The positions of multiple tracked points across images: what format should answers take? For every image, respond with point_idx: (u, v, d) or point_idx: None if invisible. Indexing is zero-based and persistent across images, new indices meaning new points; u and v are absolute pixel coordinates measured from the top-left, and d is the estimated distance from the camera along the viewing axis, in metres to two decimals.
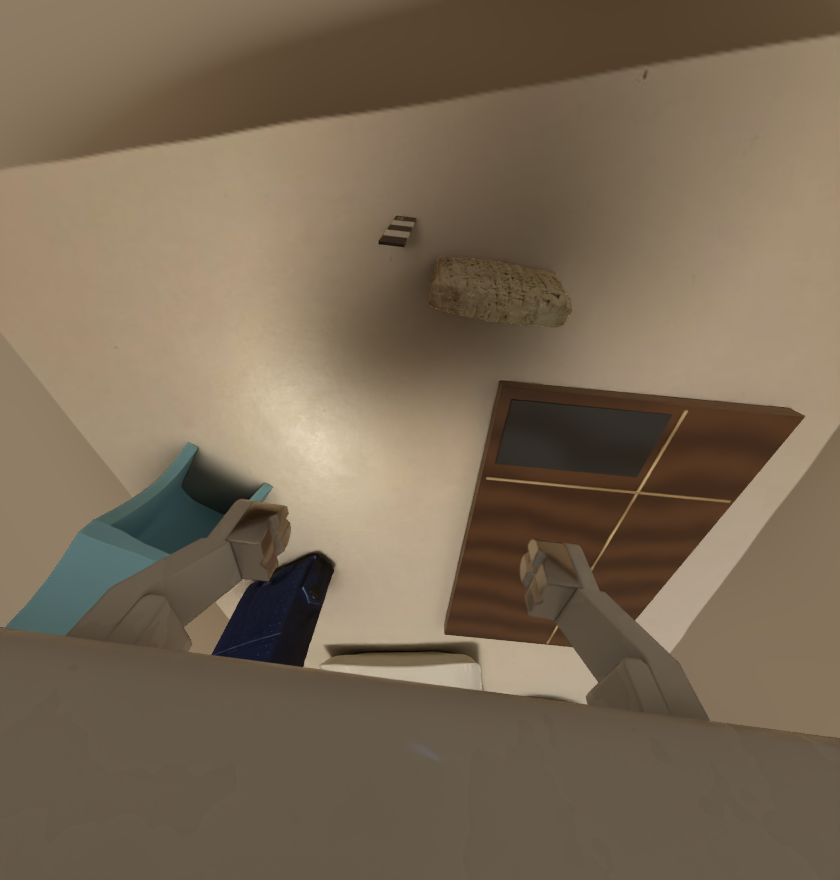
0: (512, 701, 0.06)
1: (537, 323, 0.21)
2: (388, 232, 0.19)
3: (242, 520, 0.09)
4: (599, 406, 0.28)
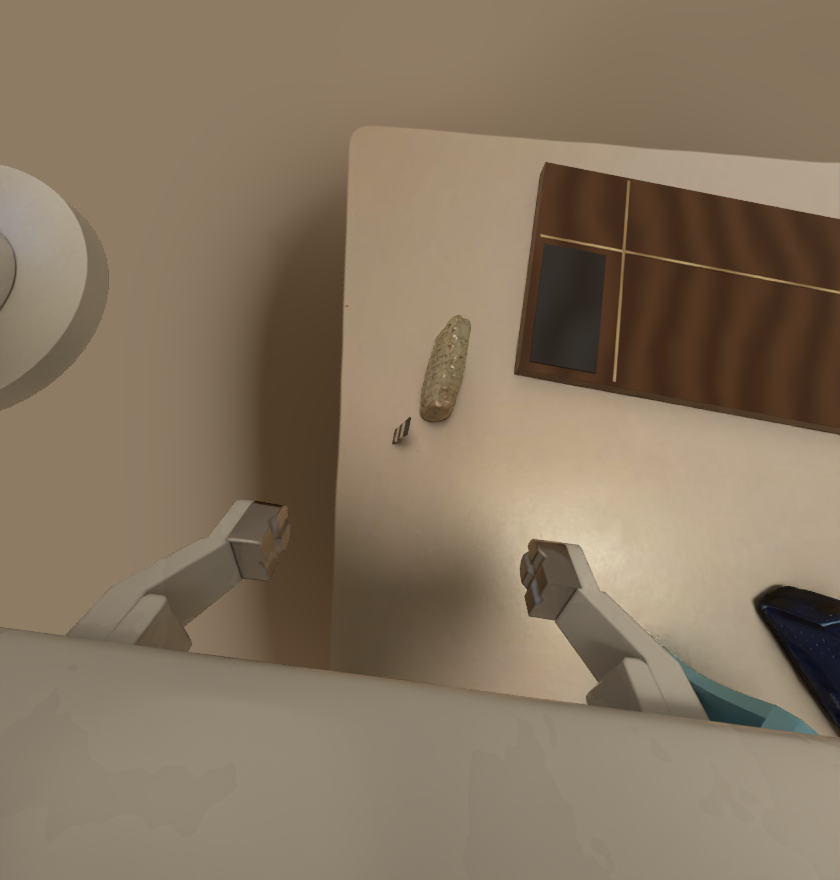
0: (512, 701, 0.06)
1: (467, 337, 0.29)
2: (401, 434, 0.28)
3: (242, 520, 0.09)
4: (537, 295, 0.35)
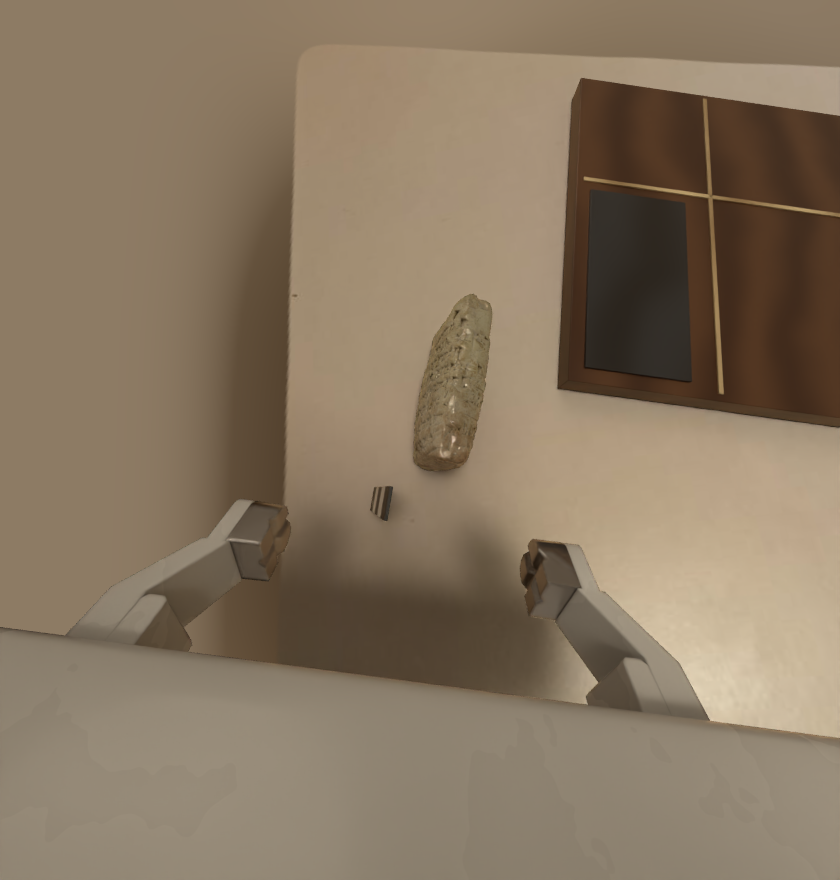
0: (512, 701, 0.06)
1: (487, 331, 0.17)
2: (379, 511, 0.15)
3: (242, 520, 0.09)
4: (586, 265, 0.22)
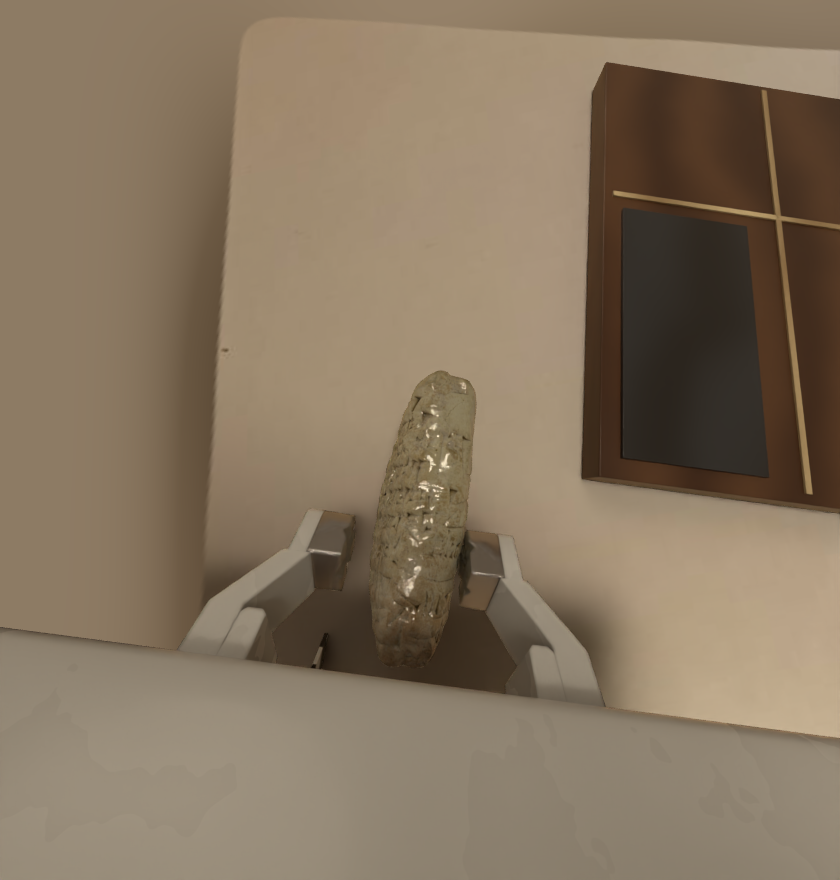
0: (512, 701, 0.06)
1: (466, 427, 0.11)
2: None
3: (318, 530, 0.09)
4: (619, 311, 0.17)
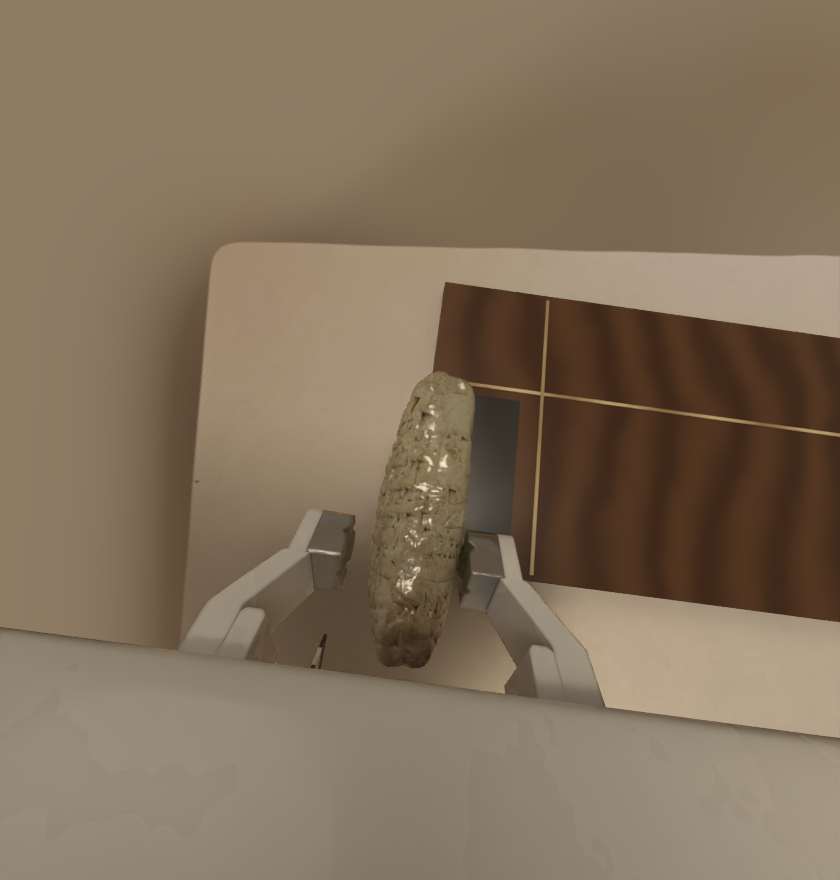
0: (512, 701, 0.06)
1: (465, 427, 0.11)
2: None
3: (318, 530, 0.09)
4: None
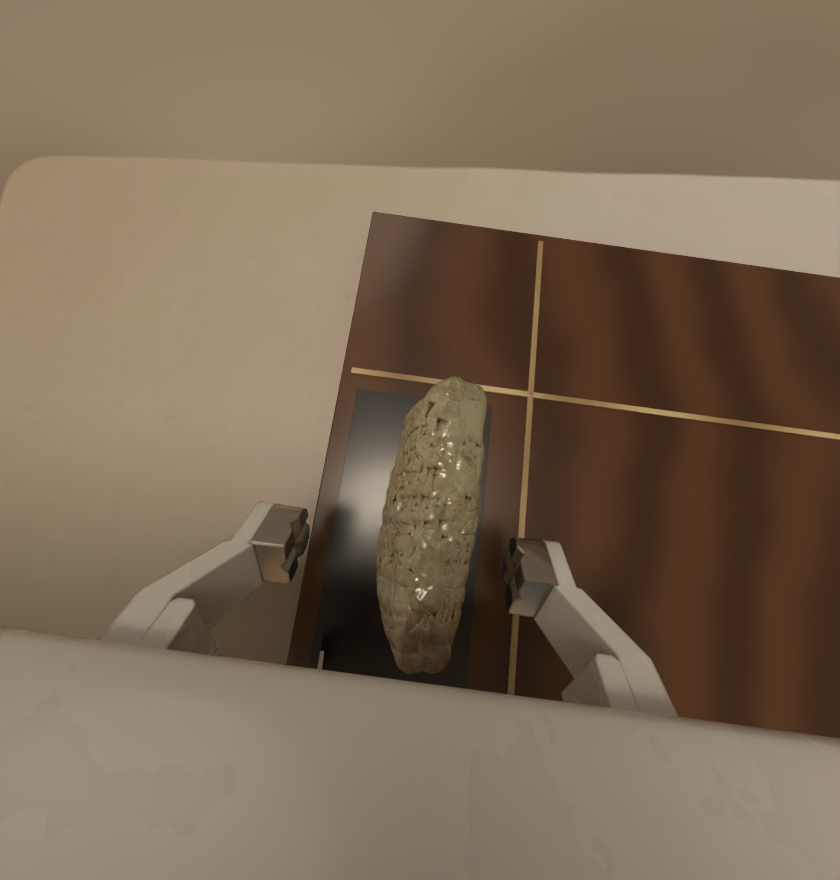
0: (512, 701, 0.06)
1: (479, 433, 0.11)
2: None
3: (264, 523, 0.09)
4: (335, 512, 0.15)
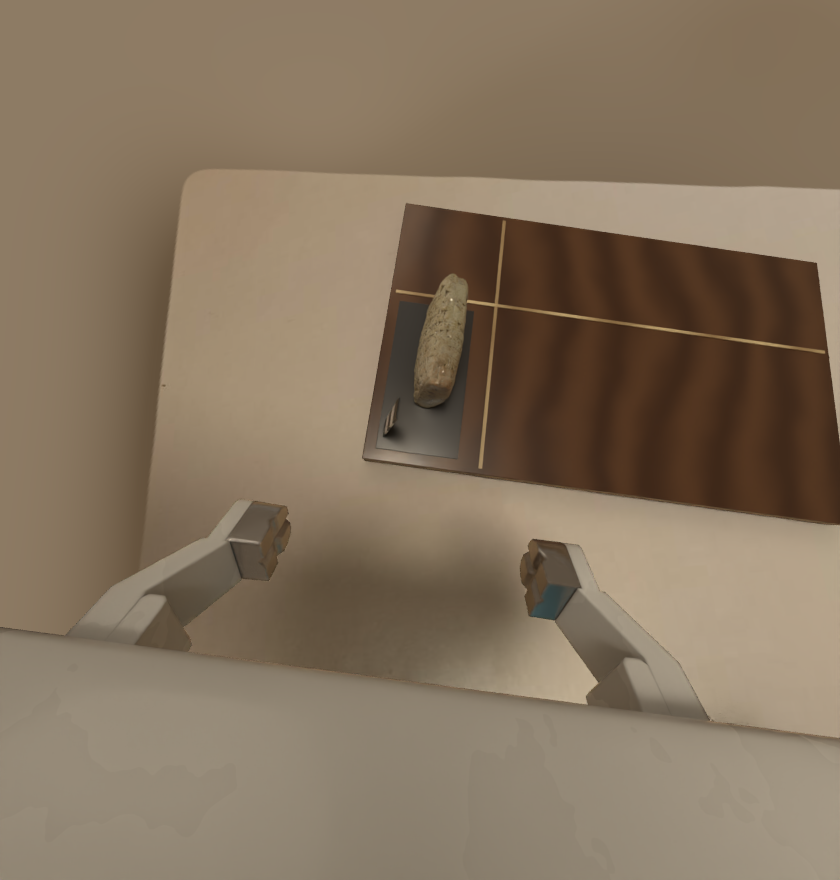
0: (512, 701, 0.06)
1: (464, 299, 0.24)
2: (391, 422, 0.22)
3: (242, 520, 0.09)
4: (388, 364, 0.29)
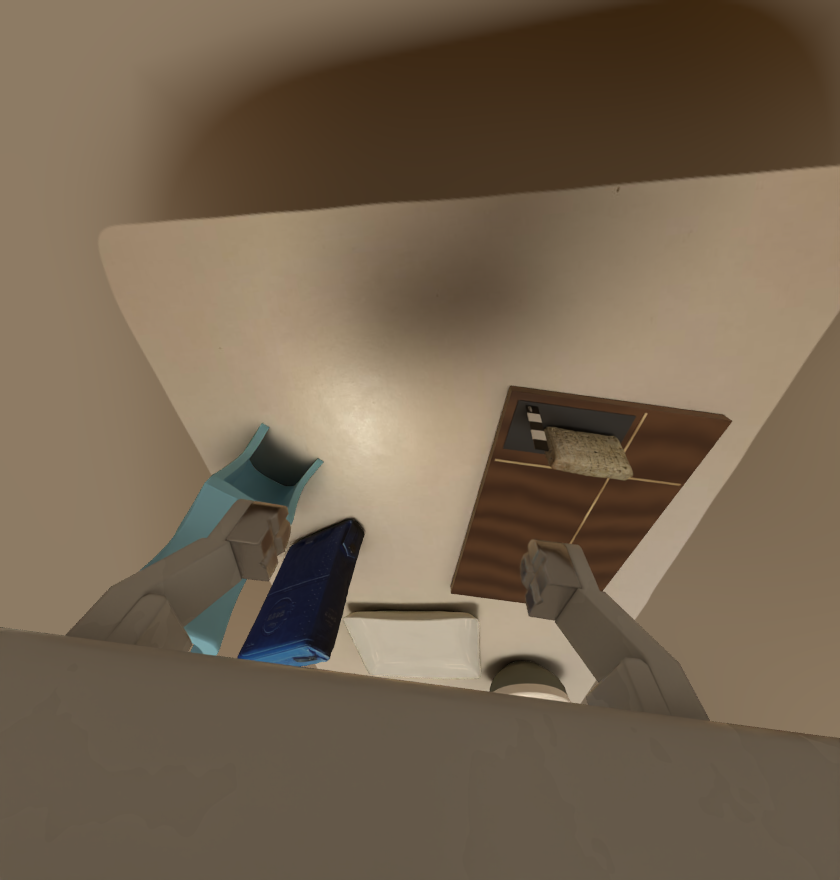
0: (512, 701, 0.06)
1: (611, 478, 0.36)
2: (534, 434, 0.34)
3: (242, 520, 0.09)
4: (582, 408, 0.38)
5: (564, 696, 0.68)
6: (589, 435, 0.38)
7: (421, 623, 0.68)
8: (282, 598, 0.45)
